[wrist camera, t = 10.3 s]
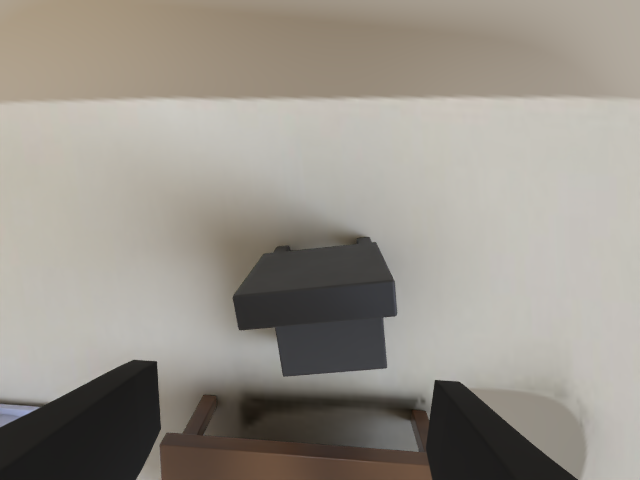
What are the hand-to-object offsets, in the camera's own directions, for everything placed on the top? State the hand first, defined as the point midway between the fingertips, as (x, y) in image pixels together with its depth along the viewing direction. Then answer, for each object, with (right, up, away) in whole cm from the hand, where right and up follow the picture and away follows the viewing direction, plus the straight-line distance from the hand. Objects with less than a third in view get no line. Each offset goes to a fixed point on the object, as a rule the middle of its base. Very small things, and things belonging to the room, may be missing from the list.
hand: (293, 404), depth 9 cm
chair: (+1, +1, +10) cm, 10 cm away
